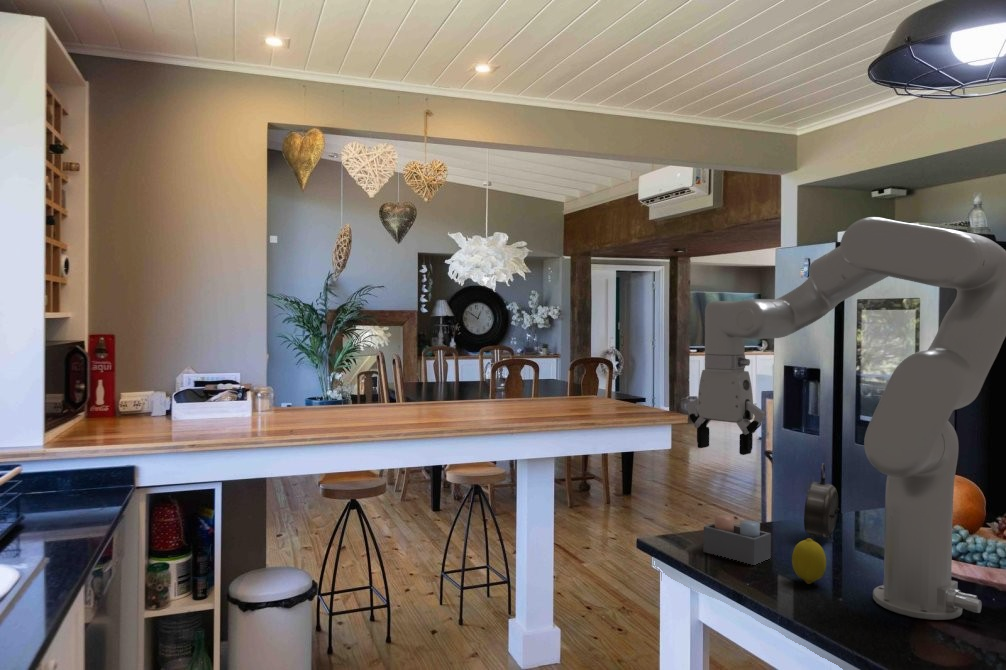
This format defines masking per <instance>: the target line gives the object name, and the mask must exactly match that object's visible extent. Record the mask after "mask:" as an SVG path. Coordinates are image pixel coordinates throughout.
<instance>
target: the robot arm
mask: <svg viewBox="0 0 1006 670" xmlns="http://www.w3.org/2000/svg"><path fill="white" fill-rule="evenodd" d="M808 275H809V276H808V277H807V279H805V281H804V282H803V283H801V284H800V285H799V286H797V287H796V288H794V289H792V290H791V291H788V292H787V293H786V294H783V295H782V296H780V297H778V298H774V299H772V298H771V299H769V298H752V299H749V298H748V299H744V300H738V301H737V300H736V301H735V300H716V301H710V302H708V303H707V304H706V306H705V309H704V369H702V370H701V371H702V372H701V374H700V378H699V379H700V380H699V386H698V396H697V399H694V400H692V401H691V402H689V403H687V404H686V405H685V409H686V411H687V413H688V415H689V419H690V420H691V422H692V424H693V426H694V428H696V442H697V443H696V444H697V448H698V449H704V448H708V447H710V427H709V426H708V425H709V423H710V422H711V421H716V422H724V423H732V424H733V423H734V424H736V425H737V426H738V427H739V429H740V431H741V432H742V433H740V434H739V449H738V450H739V451H738V452H739V454H740V455H741V456H745V455H751V454H752V450H753V440H754V439H753V438H754V437H753V434H755V433H756V431H757V430H758V428H760V427H761V425H762V423H763V421H764V420H765V418H766V415H767V414H766V412H765V411H764V410H762V409H761V408H760V407H759V406H757V405H756V404H754V399H753V398H754V397H753V388H752V387H753V386H752V382H751V377H750V376H751V375H750V373H749V371H747V370H745V369H746V367H747V366H750V364H751V360H750V358H746V354H745V353H746V352H745V347H746V345H745V342H746V340H747V339H749V340H763V339H781V338H785V337H787V336H789V335H792V334H794V333H796V332H798V331H800V330H802V329H804V328H805V327H808V326H809V325H812V324H813V323H815V322H817V321H818V320H821V318H823V317H825V316H826V315H827V314H828V313H830V312H831V311H832V310H834V309H835V308H836V307H837V306H838V304H840V303H841V302H844V301H845V300H847V299H848V298H851V297H852V296H854V295H857V294H858V293H860V292H862V291H864V290H865V289H867V288H870V287H871V286H873V285H876V284H878V282H881V281H883V280H884V279H886V278H888V277H891V278H895V279H899V280H904V281H910V282H912V283H913V282H914V283H919V284H922V285H925V286H931V287H938V288H945V289H946V288H948V289H955V290H956V297H955V299H954V301H953V303H952V305H951V306H950V307H949V309H948V310H947V312H946V313H945V314H944V317H943V318H942V321H941V323H940V325H939V328H938V330H937V333H936V334H935V336H934V338H933V340H932V342H931V344H930V345H929V347H928V349H927V350H921V351H918V352H915V353H913V354H910V355H909V356H906V357H905V358H904V359H903V360H902V361H901V362H900V363H899V364H898V365H897V366H896V368H895V369H894V370H893V372H892V374H891V376H890V378H889V380H888V382H887V384H886V386H885V388H884V391H883V393H882V394H881V396H880V399H879V402H878V404H877V406H876V408H875V409H874V412H873V415H872V417H871V419H870V421H869V423H868V426H867V428H866V431H865V434H864V442H863V445H864V451H865V453H864V454H865V456H866V458H867V460H868V461H869V463H870V464H871V465H872V466H873V468H875V469H876V470H877V471H878V472H880V473H882V474H883V475H887V476H886V483H885V493H884V494H885V495H884V496H885V497H884V498H885V499H884V501H885V502H884V540H883V541H884V546H883V547H884V549H883V550H884V551H883V556H884V558H883V584H882V585H879V586H877V587H874V589H873V590H872V599H873V601H874V602H875V603H876V604H878V605H879V606H880V607H882V608H884V609H886V610H888V611H891V612H894V613H896V614H899V615H902V616H906V617H911V618H916V619H922V620H930V621H945V620H953V619H956V618H959V617H961V615H962V614H963V609H965V610H967V611H969V612H972V613H978V614H980V613H981V611H982V608H983V607H982V606H983V605H982V604H983V603H982V601H981V600H980V599H978V595H975V594H971V593H965V592H962V591H961V590H960V589H959V588H958V587H959V586H958V584H959V583H958V581H956V580H952V566H953V565H952V564H953V563H952V561H953V560H952V559H953V558H952V557H953V517H954V516H953V515H954V493H955V492H954V489H955V479H956V473H957V472H956V471H957V465H958V460H959V451H960V450H959V447H960V446H959V438H958V434H957V431H956V430H955V427H954V426H953V425H952V424H951V422H950V421H949V419H950V418H951V415H952V414H953V412H954V411H955V410H958V409H962V408H964V407H966V406H969V405H970V404H972V403H973V402H974V401H975V400H976V398H977V397H978V396H979V394H980V392H981V391H982V390H981V389H982V388H983V386H984V383H985V381H986V379H987V377H988V374H989V373H990V370H991V368H992V366H993V365H994V362H995V360H996V359H997V357H998V354H999V352H1000V349H1001V347H1002V345H1003V342H1004V340H1005V339H1006V249H1004V247H1002V246H1001V245H999V244H998V243H996V242H995V241H993V240H992V239H990V238H988V237H985V236H982V235H979V234H977V233H970V232H965V231H960V230H955V229H951V228H950V229H949V228H942V227H936V226H930V225H922V224H917V223H909V222H903V221H898V220H895V219H894V220H893V219H890V218H889V219H888V218H884V217H879V216H869V217H864V218H860V219H858V220H857V221H854V222H853V223H852V224H851V225H849V226H848V227H847V228H846V230H845V231H844V232H843V234H842V237H841V240H840V245H839V246H837V247H835V248H834V249H832V250H830V251H828V252H827V253H825V254H823V255H821V256H820V257H818V258H817V259H815V260H813V261H812V262H811V263H810V265H809V268H808Z"/></svg>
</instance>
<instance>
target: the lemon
mask: <svg viewBox="0 0 1006 670" xmlns="http://www.w3.org/2000/svg"><path fill="white" fill-rule="evenodd" d="M791 565H792V569H793V571H794V573H795V574H796V576H797V577H798V578H800V579H801V580H804V582H805V583H806V584H808V585H811V584H812V583H813V582H816V581H819V580H820V579H821V578H822V577H823V576H824V574H825V572H826V569H827V556H826V552H825V551H824V548H823V547H822V546H821V545H820V544H819V543H818V542H816V540H814V541H813V540H812V539H811V537H810V538H809V537H808V538H806V539H804V540H801V541H799V542H798V543H797V544H795V546H794V548H793V552H792V555H791Z"/></svg>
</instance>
